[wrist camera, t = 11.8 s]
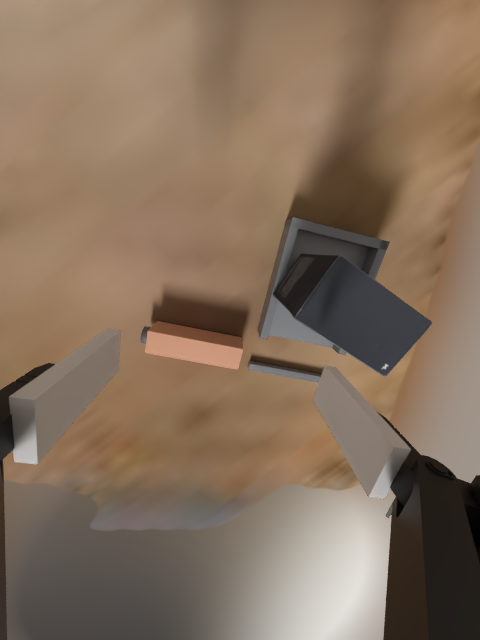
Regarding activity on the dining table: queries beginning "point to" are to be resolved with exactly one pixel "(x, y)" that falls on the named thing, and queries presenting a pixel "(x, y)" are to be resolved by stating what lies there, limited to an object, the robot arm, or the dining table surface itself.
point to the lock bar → (193, 344)
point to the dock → (293, 243)
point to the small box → (351, 310)
